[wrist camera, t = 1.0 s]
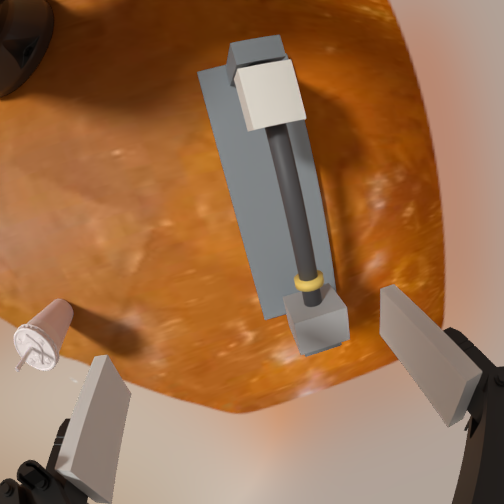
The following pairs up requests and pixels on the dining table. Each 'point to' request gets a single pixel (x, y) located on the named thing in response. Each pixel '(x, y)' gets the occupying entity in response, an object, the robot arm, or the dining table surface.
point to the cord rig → (277, 205)
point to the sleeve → (269, 94)
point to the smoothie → (43, 336)
